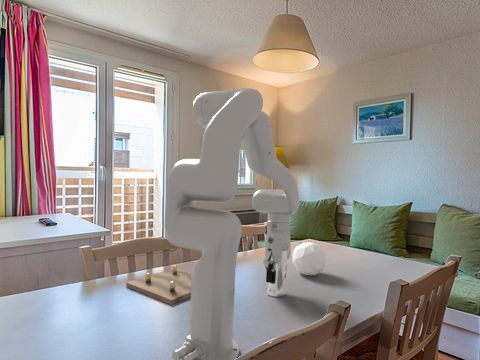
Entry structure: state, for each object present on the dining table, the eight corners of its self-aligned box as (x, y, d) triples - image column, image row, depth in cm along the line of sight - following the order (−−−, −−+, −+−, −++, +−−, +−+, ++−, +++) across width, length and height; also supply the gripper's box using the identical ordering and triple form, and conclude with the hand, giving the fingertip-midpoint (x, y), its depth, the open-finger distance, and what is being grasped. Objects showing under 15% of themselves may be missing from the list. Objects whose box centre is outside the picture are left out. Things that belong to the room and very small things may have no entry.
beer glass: (269, 298, 100) (271, 251, 100) (262, 290, 107) (264, 246, 107) (289, 296, 102) (291, 251, 102) (280, 289, 109) (282, 246, 109)
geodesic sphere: (284, 263, 120) (307, 236, 120) (281, 254, 134) (302, 230, 133) (313, 287, 120) (336, 260, 119) (307, 276, 134) (328, 251, 133)
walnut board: (170, 305, 92) (171, 289, 92) (126, 286, 105) (126, 273, 105) (218, 285, 110) (219, 272, 110) (175, 271, 123) (175, 260, 123)
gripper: (275, 231, 95) (272, 289, 95) (299, 225, 109) (297, 276, 110) (254, 228, 99) (252, 284, 100) (280, 222, 114) (278, 271, 114)
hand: (276, 279), depth 105 cm, fingers closed on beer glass, 6 cm apart
